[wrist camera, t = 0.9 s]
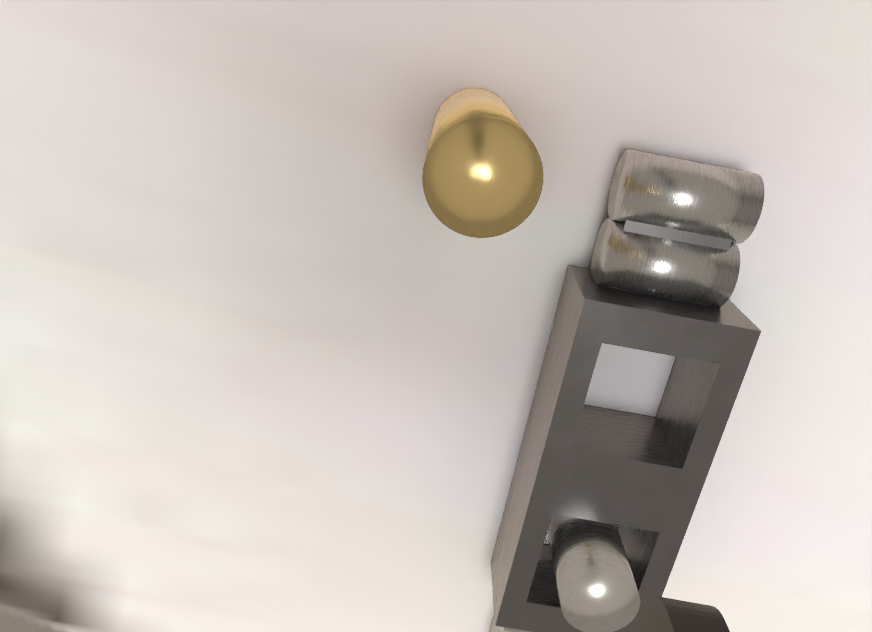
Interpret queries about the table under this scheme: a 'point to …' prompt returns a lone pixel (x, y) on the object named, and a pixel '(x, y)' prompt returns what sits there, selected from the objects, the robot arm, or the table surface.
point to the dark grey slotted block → (620, 431)
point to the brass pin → (480, 166)
